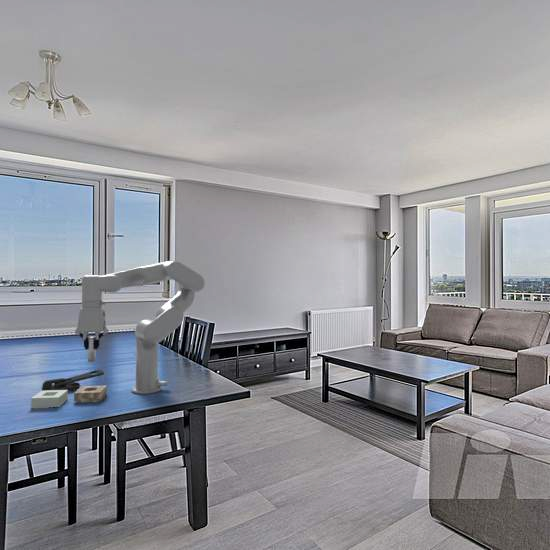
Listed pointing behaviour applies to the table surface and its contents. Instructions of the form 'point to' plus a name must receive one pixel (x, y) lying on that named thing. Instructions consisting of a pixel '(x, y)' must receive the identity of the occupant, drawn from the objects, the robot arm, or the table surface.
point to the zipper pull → (69, 382)
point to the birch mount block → (90, 393)
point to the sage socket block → (49, 399)
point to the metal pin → (91, 349)
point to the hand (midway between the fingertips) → (91, 348)
